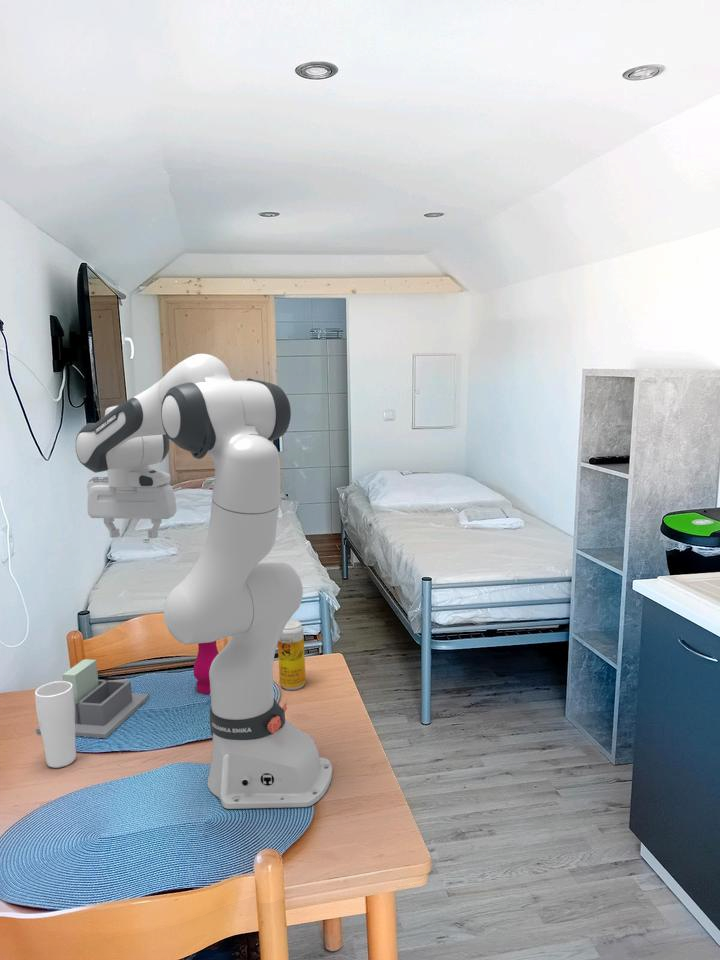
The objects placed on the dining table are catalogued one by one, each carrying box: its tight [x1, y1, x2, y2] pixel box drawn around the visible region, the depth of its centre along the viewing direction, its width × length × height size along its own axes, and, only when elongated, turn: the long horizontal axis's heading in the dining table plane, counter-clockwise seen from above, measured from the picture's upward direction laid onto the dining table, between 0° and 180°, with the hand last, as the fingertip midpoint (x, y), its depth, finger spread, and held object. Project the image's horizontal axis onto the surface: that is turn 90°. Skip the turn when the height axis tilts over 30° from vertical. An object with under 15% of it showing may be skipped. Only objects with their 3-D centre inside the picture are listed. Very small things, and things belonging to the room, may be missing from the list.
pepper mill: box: [192, 641, 220, 695], centre depth 164 cm, size 7×7×20 cm
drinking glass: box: [34, 680, 77, 769], centre depth 135 cm, size 7×7×15 cm
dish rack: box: [35, 678, 150, 739], centre depth 154 cm, size 16×18×6 cm
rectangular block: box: [62, 658, 99, 702], centre depth 154 cm, size 3×8×10 cm, turn 168°
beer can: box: [277, 619, 307, 691], centre depth 165 cm, size 6×6×15 cm
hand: (134, 537), depth 159 cm, fingers open, 8 cm apart
